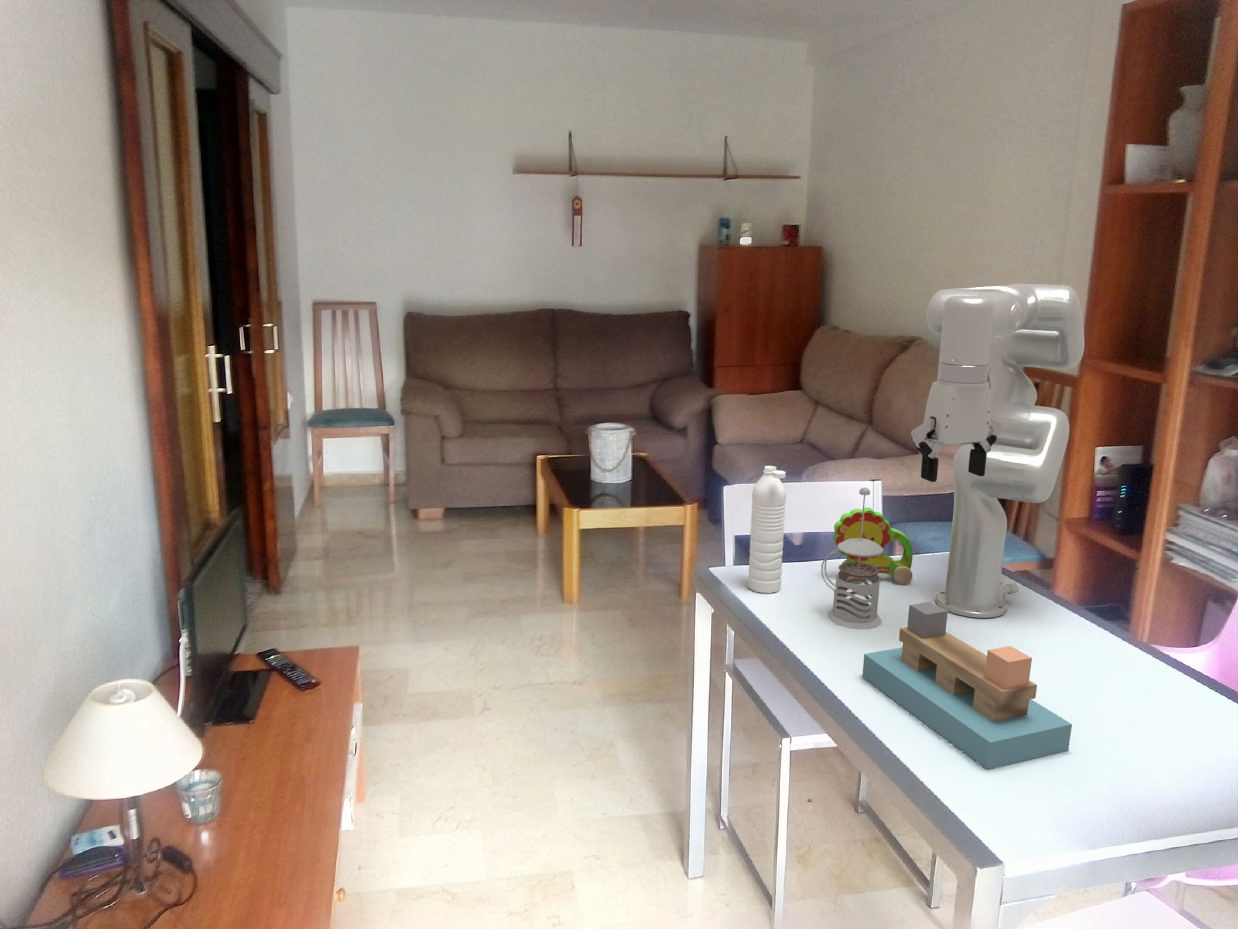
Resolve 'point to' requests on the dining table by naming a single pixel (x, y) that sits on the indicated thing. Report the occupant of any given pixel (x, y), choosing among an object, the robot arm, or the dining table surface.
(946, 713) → the block
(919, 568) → the dining table surface
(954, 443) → the robot arm
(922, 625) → the block
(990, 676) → the pink cube
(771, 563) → the water bottle
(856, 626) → the french press
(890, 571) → the toy lion
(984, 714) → the pallet
